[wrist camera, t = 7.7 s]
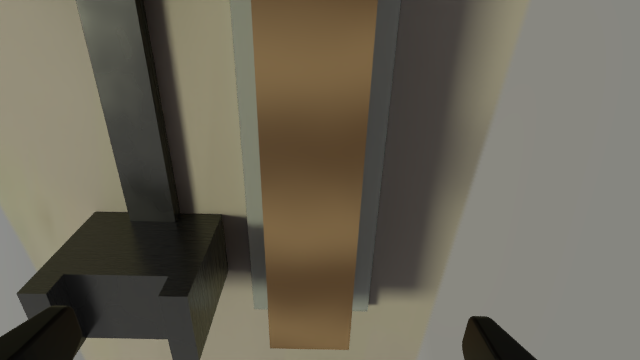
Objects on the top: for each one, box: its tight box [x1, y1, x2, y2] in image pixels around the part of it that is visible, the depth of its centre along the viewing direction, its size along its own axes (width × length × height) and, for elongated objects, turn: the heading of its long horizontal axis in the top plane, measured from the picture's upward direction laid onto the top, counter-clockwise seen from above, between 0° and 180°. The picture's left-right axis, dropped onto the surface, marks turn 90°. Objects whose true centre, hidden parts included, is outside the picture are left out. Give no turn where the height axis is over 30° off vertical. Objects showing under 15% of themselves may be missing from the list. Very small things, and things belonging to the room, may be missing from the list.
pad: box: [230, 0, 401, 311], centre depth 18 cm, size 25×7×1 cm, turn 179°
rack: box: [17, 0, 228, 360], centre depth 16 cm, size 20×7×6 cm, turn 179°
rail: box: [251, 0, 378, 350], centre depth 16 cm, size 22×4×4 cm, turn 179°
